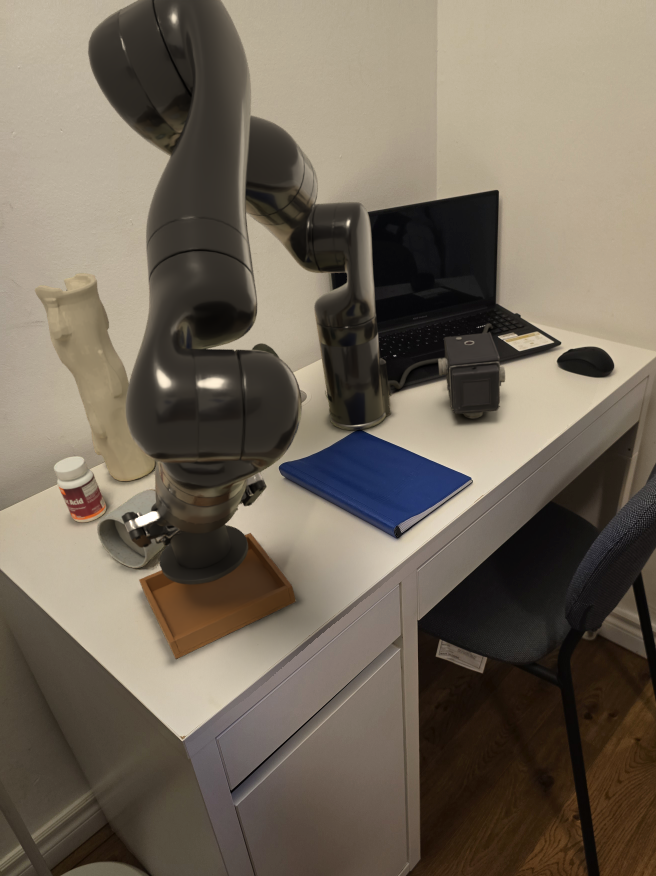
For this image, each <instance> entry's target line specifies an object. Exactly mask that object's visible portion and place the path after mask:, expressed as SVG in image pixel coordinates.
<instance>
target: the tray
mask: <svg viewBox="0 0 656 876" xmlns="http://www.w3.org/2000/svg"><path fill="white" fill-rule="evenodd" d="M244 535H245V537H246V539H247V542H248V552H247V555H246V557H245V559H244V560H243V562H242V563H241V564H240V565H239V566H238V567H237V568H236V569H235V570H233V571H232V572H231V573H229V574H227V575H225V576H223V577H221V578H219V579H217V580H215V581H212V582H208V583H202V584H192V585H190V584H180V583H176V582H174V581H171V580H170V579H168V578H167V577H166V576H165V575H164V574H163V572H162V570H161V569H160V570H159V571H156V572H153V573H151V574H149V575H147V576H144V577H141V578H139V579H138V582H139V584H140V586H141V589H142V591H143V593H144V597H145V599H146V600H147V602H148V604H149V607H150V608H151V611H152V613H153V614H154V617H155V619H156V621H157V623H158V625H159V628H160V630H161V631H162V633H163V635H164V638H165V640H166V642H167V645H168V646H169V648H170V650H171V652H172V654H173V656H174V659H175V660H177V659H179V658H181V657H183V656H185V655H188V654H190V653H191V652H194V651H196V650H198V649H200V648H203V647H205V646H206V645H209V644H211V643H213V642H214V641H215V642H216V641H217V640H219V639H222V638H223V637H225V636H228V635H230V634H233V633H234V632H236V631H238V630H240V629H242V628H245V627H247V626H248V625H250V624H253V623H255V622H257V621H259V620H261V619H264V618H265V617H268V616H269V615H271V614H273V613H275V612H277V611H280V610H283V609H284V608H286V607H288V606H290V605H292V604H294V603H296V602H297V600H296V595H295V591H294V588H293V585H292V583H291V582H290V581H289V580H288V578H287V577H286V576H285V575H284V573H283V572H282V571H281V569H280V568H279V567H278V566H277V564H276V563H275V562H274V561H273V559H272V558H271V557H270V556H269V554H268V553H267V552H266V551H265V549H264V547H262V545H261V544H260V542H259V541H258V540H257V539H256V537H254V535H253V534H252V532H248V533H247V534H244Z"/></svg>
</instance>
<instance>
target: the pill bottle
mask: <svg viewBox="0 0 656 876" xmlns="http://www.w3.org/2000/svg"><path fill="white" fill-rule="evenodd" d="M53 471H54V473H55V476H56V477H57V480H56V484H57V487H58V489H59V491H60V494H61V496H62V498H63V500H64V503H65V505H66V508H67V509H68V512H69V514H70V516H71V519H73V521H75V522H77V523H88V522H93V521H95V520H98V519H99V518H100V517H102V516H103V515H104V514H105V513H106V511H107V504H106V502H105V499H104V497H103V495H102V492H101V489H100V486H99V485H98V482H97V479H96V477H95V473H94V472H93V470H92V469H90V468H88V465H87V463H86V459H84V457H82V456H80V455H79V456H78V455H77V456H76V455H75V456H69V457H65V458H63V459H61V460H59V461H58V462H56V463H55V465H54V466H53Z"/></svg>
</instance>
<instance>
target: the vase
mask: <svg viewBox="0 0 656 876" xmlns="http://www.w3.org/2000/svg"><path fill="white" fill-rule="evenodd" d="M63 282H64V285H65V289H66V290H63V289H61V288H60V287H53V286H49V285H44V284H40V285H37V286H36V287H35V288H34V292H35V294H36V297H37V298H38V299H39V301H40V302H41V303H42V305H43V308H44V310H45V313H46V318H47V322H48V323H47V324H48V331H49V337H50V341H51V344H52V346H53V348H54V350H55V353H56V354H57V356H58V358H59V360H60V362H61V363H62V364H63V365H64V366H65V367H66V369H68V371H69V372H70V373H71V374H72V376H73V378H74V381H75V384H76V387H77V390H78V393H79V397H80V399H81V402H82V405H83V408H84V412H85V415H86V419H87V421H88V424H89V427H90V430H91V431H90V434H91V441H92V445H93V449H94V452H95V454H96V455H98V456H101V457H102V458H103V460H104V463H105V465H106V468H107V470H108V473H109V475H111V477H112V478H113V479H115V480H116V481H119V482H129V481H134V480H137V479H141V478H143V477H145V476H147V475H148V474H150V473H151V472H152V471H153V470H154V468H155V467H156V461H155V460H153V459H152V458H150V457H148V456H147V455H146V454H144V453H143V452H142V451H141V450H140V449H139V447H138V446H137V444H136V443H135V442H134V440H133V438H132V437H131V434H130V432H129V429H128V425H127V421H126V396H127V391H128V386H129V382H130V380H129V378H128V373H127V370H126V368H125V365H124V363H123V361H122V359H121V357H120V356H119V354H118V352H117V351H116V349H115V347H114V345H113V343H112V340H111V337H110V334H109V331H108V330H109V329H110V321H109V316H108V313H107V311H106V308H105V306H104V304H103V302H102V300H101V298H100V295H99V290H98V289H99V288H98V280H97V279H96V275H95V274H91V273H87V272H79V273H75V275H74V276H71V277H67V278H64V279H63Z"/></svg>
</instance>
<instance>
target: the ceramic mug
mask: <svg viewBox="0 0 656 876" xmlns="http://www.w3.org/2000/svg"><path fill="white" fill-rule="evenodd" d="M155 503H156V495H155V489H153V488H151V489H150V488H149V489H145V490H143V491H140V492H138V493H137V494H135V495H133V496H132V497H131V498H129V499H128V500H127V501H125V502H124V503H122V504H121V505H119V506H117V507H116V508H115V509H113V510H112V511H110V512H109V513H107V514H105V515H104V516H103V517H102V518H100V520H99V521H98V523H97V527H96V529H97V531H96V533H97V536H98V539H99V541H100V543H101V545H102V546H103V547H104V549H105V551H106V552H107V553H108V554H109V555H110V556H111V557H112V558H113V559H114V560H115V561H116V562H118V563H119V564H122V565H124V566H125V567H129V568H132V569H140V568H143V567H144V566H145V565H147V564H148V563H149V562H150V561H151V560H152V559H153V558H154V557H155V556H156V555H157V554H158V553H159V552H161V551H162V549H164V548H165V546H164V544H163V542H161V543H159V544H156V542H155V539H152V540H151V542H152V543H151V544H150V545H149V546H148V547H145V548H144V547H143V548H140V547H139V546H138V545H136V544H135V543H134V542H133V541H132V540H131V538H130V536H129V533H128V531H127V529H126V527H125V524H124V522H123V520H122V516H123V515H124V514H125V513H127V512H135V513H138V512H141V514H142V516H143V515H146V514H148V513H150V512H151V508H152V506H153V505H154V504H155Z"/></svg>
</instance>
